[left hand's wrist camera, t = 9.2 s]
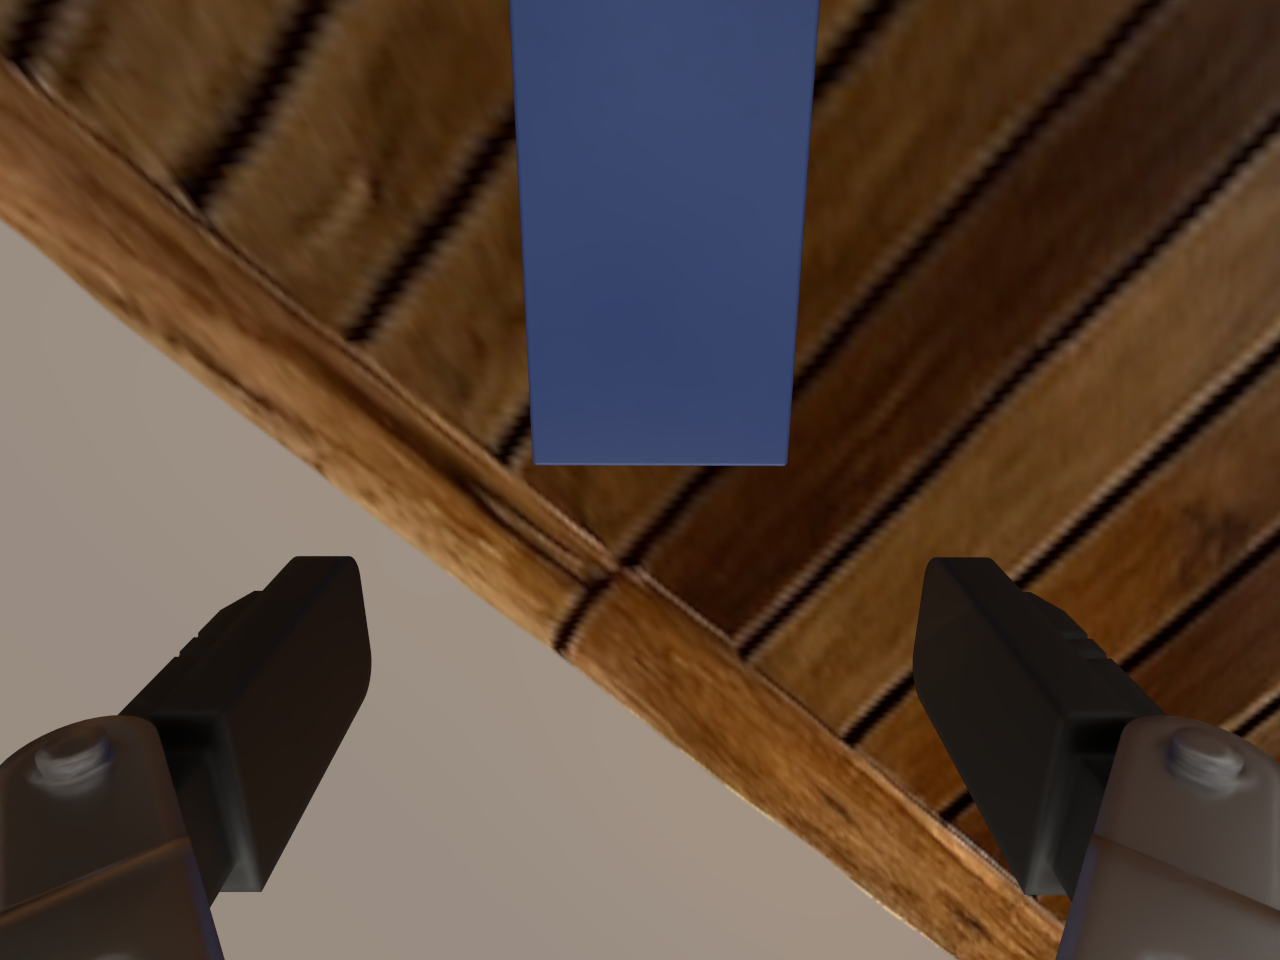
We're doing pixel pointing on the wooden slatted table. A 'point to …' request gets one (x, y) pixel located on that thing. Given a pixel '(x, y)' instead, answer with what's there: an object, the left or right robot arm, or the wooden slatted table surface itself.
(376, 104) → the wooden slatted table surface
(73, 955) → the left robot arm
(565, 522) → the wooden slatted table surface
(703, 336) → the bar
